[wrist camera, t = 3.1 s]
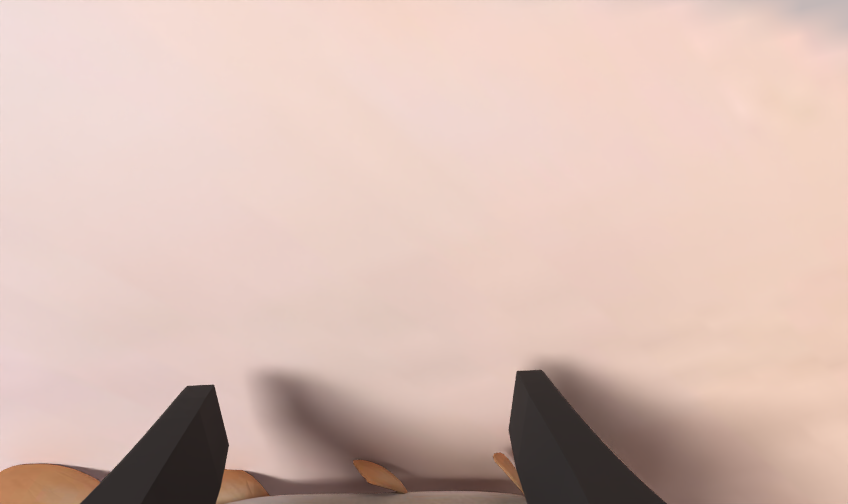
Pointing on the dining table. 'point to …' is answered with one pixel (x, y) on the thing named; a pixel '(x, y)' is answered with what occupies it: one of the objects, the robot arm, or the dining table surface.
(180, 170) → the dining table surface
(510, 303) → the dining table surface
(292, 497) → the fish
